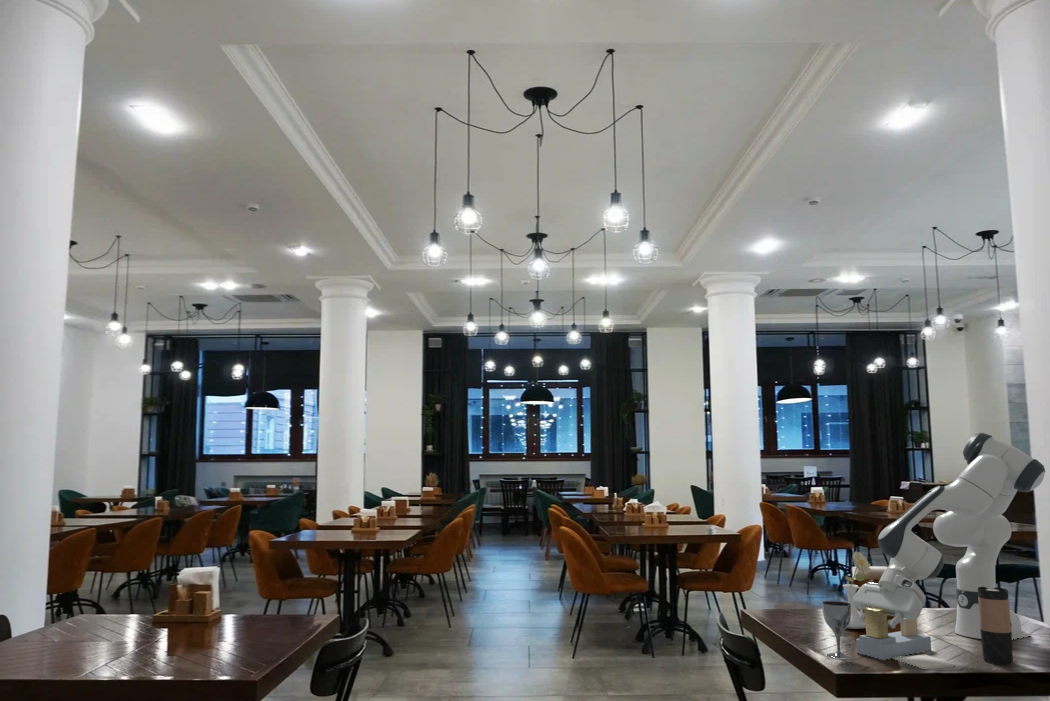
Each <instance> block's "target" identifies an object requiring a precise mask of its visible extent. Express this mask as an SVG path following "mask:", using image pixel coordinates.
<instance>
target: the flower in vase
mask: <svg viewBox="0 0 1050 701" xmlns="http://www.w3.org/2000/svg"><path fill="white" fill-rule="evenodd" d="M851 558H852V562H853V564H854V566H855V570H854V574H853V577H850V576H848V575H847V574H846V575H845V576H844V578H845V580H846V581H849V582H851V583H850V584H849V583H848V584H847V583H846V584H843V585H842V587H843V588H844V589H845V592H846V597H847V602H848V603H851V619H850V623H849V625H848V626H847V628H846V629H854V630H859V629H866V623H865V622H861V621H860V620H859V616H860V610H859V609H858V608H857V607H856V606H855V605H854V603H853V600H852V599H853V597H854V596H855V594H856V593H857V591H858V590H857V589H859V585H857V584H854V580H855V579H856V581H858V582H862V581H864V580H865V577H864V576H863V575H862V574H865V575H868V574H869V572H871V568H870V567H871V564H870V563H869V561H868V560H867V557H866V556H864V554H862V553H861V552H859V551H855V552H853V554H852V557H851ZM857 571H859V573H857ZM860 572H861V573H862V574H860Z"/></svg>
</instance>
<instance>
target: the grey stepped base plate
mask: <svg viewBox="0 0 1050 701" xmlns="http://www.w3.org/2000/svg"><path fill="white" fill-rule="evenodd" d="M917 619H918V618H917ZM917 619H915V620H911V619H906V618H904V619H903V621H901V622H900V623H899V624H900V631H894V632H888V638H883V639H875V638H871V637H867V636H866V634H862V635H859V636H858V637H859V638H856V639H855V643H856V645H855V646H856V654H858V653H859V655H862V654H863V655H862V656H865V655H867V657H869V656H871V657H870V658H873V657H874V658H873V659H877V658H878V659H879V660H881V661H886V659H888V660H891V659H890V658H892V659H893V657H900V656H905V655H907V656H910V655H909V654H912V655H915V654H914V653H917V654H919V653H918V652H922V653H924V652H923V651H926V652H930V651H929V650H931V651H932V640H931V639H932V637H931V636H929V635H924V634H919V633H918V621H917ZM878 659H877V660H878Z"/></svg>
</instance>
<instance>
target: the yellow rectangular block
mask: <svg viewBox="0 0 1050 701" xmlns="http://www.w3.org/2000/svg"><path fill="white" fill-rule="evenodd" d="M865 620H866V628H865V633H866V634H865V635H866V636H867V637H871V638H875V639H883V638H888V633H889V630H888V628H889V627H888V626H887V623H888V615H887V610H886V609H880V608H875V607H872V608H866V609H865Z"/></svg>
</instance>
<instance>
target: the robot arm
mask: <svg viewBox="0 0 1050 701" xmlns="http://www.w3.org/2000/svg"><path fill="white" fill-rule="evenodd" d="M962 455H963V458H964V460H965V461H966V463H967V466H965V468H964V469H963V470H962V471H961V473H960V474H959V475H958V476H957V477H956V478H955V479H954V481H952V482H950V483H949V484H947V485H944V486H943V485H937V486H935V487H933V488H930V490H928V491H927V492H926V493H925V494H924V495H923V496H921V497H920V498H919V499H917V501H916V502H914V503H913V504H912V505H911V506H910V507H909V508H908V509H907V510H905V511H904V512H903V513H902V514H900V516H898V517H897V518H896V519H895V520H894V521H892V522H891V523H890V524H888V525H887V526H885V527H884V528H883V529H882V530H881V531H880V532H879V534H878V537H877V544H878V547H879V549H880V552H882V553H883V554H885V555H886V556H888V557H889V558H890V560H889V564H888V566H887V567H886V568H885V569H884V571H883V573H882V575H881V577H880V578H879V581H878V583H876V582H872V581H871V582H870V581H869V582H866V583H864V584H862V585H861V586H860V587H859V588H858V590H856V593H855V596H854V597H853V599H852V600H853V603H854V605H855V606H856V608H857V610H859V612H860V616H859V620H860V621H861V622H865V623H866V620H865V609H866V608H872V607H875V608H880V609H886V610H887V616H892V617H893V618H892V619H888V620H887V626H888V628H889V629H896V626H897V625H898V624H900V622H901V621H903V619H904V618H906V619H911V620H915V619H918V618H919V617H920V615H921V613H922V610H923V607H924V602H925V601H926V599H927V597H926V595H925V593H924V592H923V590H922V589H921V588H920V587H919V585H918V584H917V583H916V581H917V580H919V581H927V580H928V581H929V580H933V579H936V578H937V577H938V576H939V574H941V571H942V569H943V567H944V562H945V561H944V556H943V553H941V552H940V550H938V549H937V548H935V547H934V546H932V545H931V544H930V543H928V542H926V541H925V540H923V539H922V538H921V537H920V536H918V535H917V534H916V533H914V532H913V531H912V528H913V527H915V526H916V525H917V524H919V523H920V521H922V520H923V518H925V517H926V516H927V515H928V514H929V513H930V512H932V511H937V510H943V511H946V512H945V513H942V514H941V515H939V516H937V517H936V518H935V520H934V521H933V525H932V531H933V534H934V536H935V538H936V539H937V541H938V542H939V543H941V544H943V545H946V546H951V547H956V548H958V547H959V548H960V547H963V548H965V547H967V548H966V551H965V554H964V555H963V557H961V558H960V559H959V560H958V561H957V562H956V565H955V574H956V575H955V576H956V588H955V597H956V598H955V599H956V600H957V604H956V619H955V620H956V622H955V625H954V633H955V634H957V635H959V636H963V637H968V638H973V639H980V640H981V632H980V618H979V603H978V587H986V588H988V589H994V588H995V587H997V583H996V564H997V560H998V556H999V554H1000V552H1001V549H1002V548H1003V546H1004V545H1005V544H1006V543H1007V542H1008V541H1009V540H1010V539H1011V537H1012V526H1011V523H1010V521H1009V520H1008V519H1007V517H1005V516H1004V515H1003V514H1004V513H1005V512H1006V511H1007V509H1009V506H1010V504H1011V503H1012V501H1013V499H1014V498H1015V496H1016V495H1017V492H1018V491H1020V492H1022V493H1028V492H1029V493H1031V492H1032V491H1033V490H1035V489H1037V488H1038V487H1039V486H1040V485H1041V484H1042V482H1043V481H1044V478H1045V474H1046V468H1045V466H1044V465H1043V463H1042V462H1040V461H1039V460H1038V459H1036V458H1033V457H1032V456H1030V455H1029V454H1027V453H1025V452H1024V451H1022V450H1020V449H1019V448H1017V447H1016V446H1012V445H1011V444H1009V443H1006V442H1004V441H1002V440H999V439H998V438H996V437H993V435H990V434H987V433H984V432H977V433H975V434H974V435H973V436H971V437H970V438H968V440H967V441H966V442H965V444H964V446H963V450H962ZM1010 620H1011V632H1012V641H1013V639H1014V640H1018V639H1017V638H1019V639H1023V637H1024V638H1029V637H1028V636H1030V637H1031V636H1032V635H1031V632H1030V631H1027V630H1024V629H1022V624H1021V620H1020V617H1019V616H1018V614H1017V613H1015V612H1014V611H1013V610H1011V609H1010Z"/></svg>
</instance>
